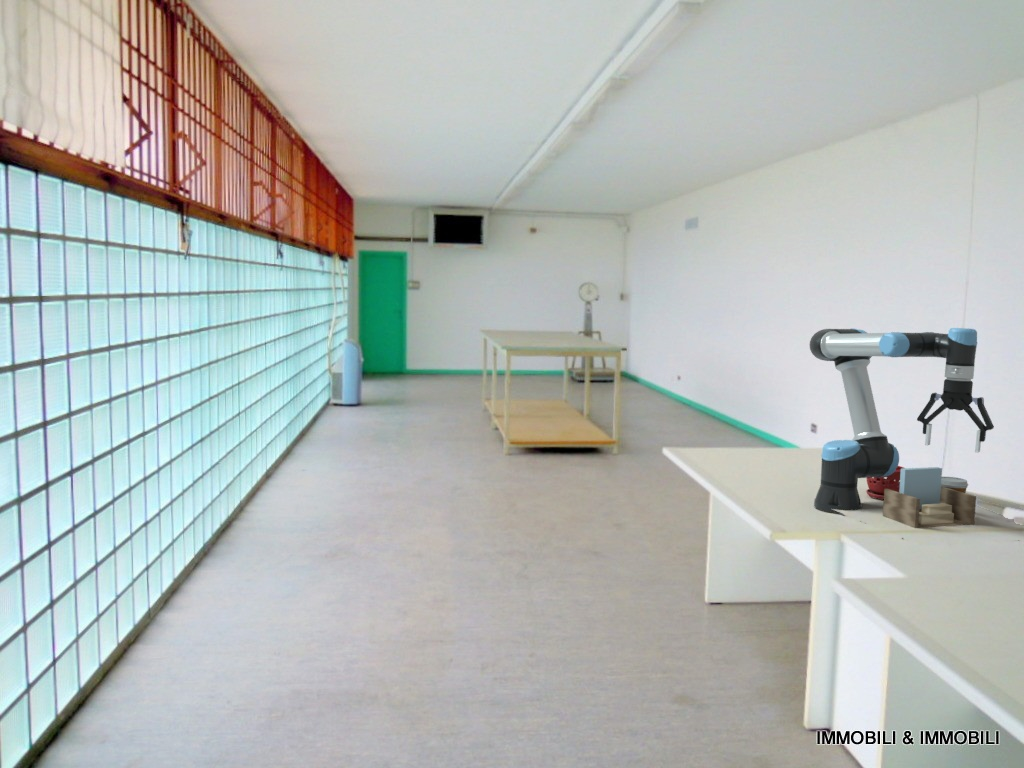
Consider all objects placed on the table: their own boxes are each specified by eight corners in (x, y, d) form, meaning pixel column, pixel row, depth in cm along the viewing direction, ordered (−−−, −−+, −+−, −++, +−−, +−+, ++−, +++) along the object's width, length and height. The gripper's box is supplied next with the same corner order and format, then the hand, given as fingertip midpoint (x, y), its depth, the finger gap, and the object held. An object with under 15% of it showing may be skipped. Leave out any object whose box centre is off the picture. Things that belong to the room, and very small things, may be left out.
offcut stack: (913, 521, 240) (914, 504, 239) (945, 519, 243) (946, 502, 242) (922, 524, 236) (923, 507, 236) (954, 522, 239) (955, 505, 239)
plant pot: (864, 499, 275) (866, 467, 274) (865, 492, 287) (866, 461, 285) (905, 504, 269) (907, 470, 268) (903, 496, 281) (905, 464, 280)
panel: (897, 517, 245) (900, 468, 244) (934, 515, 248) (937, 467, 247) (902, 518, 243) (905, 469, 242) (938, 516, 247) (942, 468, 245)
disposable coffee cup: (973, 517, 252) (975, 482, 251) (947, 518, 251) (950, 482, 249) (952, 510, 261) (954, 476, 260) (927, 510, 260) (929, 476, 259)
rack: (882, 520, 246) (884, 488, 245) (939, 517, 251) (941, 486, 251) (914, 532, 233) (916, 499, 232) (973, 529, 238) (976, 496, 237)
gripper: (910, 376, 234) (904, 443, 237) (1004, 384, 217) (996, 456, 220) (917, 374, 239) (911, 440, 242) (1009, 382, 222) (1002, 453, 225)
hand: (951, 448), depth 231 cm, fingers open, 13 cm apart
